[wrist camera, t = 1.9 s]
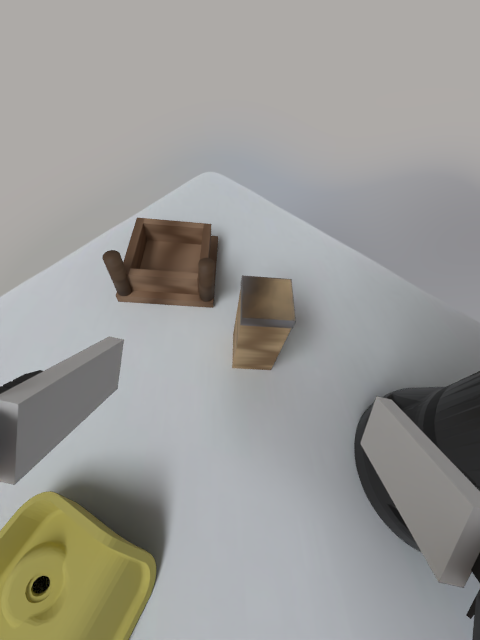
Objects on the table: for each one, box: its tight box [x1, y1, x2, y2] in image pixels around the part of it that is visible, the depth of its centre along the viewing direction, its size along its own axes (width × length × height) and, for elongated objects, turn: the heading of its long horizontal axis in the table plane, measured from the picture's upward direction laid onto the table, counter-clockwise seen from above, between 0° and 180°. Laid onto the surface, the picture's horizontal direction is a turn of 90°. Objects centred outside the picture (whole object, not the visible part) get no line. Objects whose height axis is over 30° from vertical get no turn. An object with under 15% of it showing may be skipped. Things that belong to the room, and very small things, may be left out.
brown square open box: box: [103, 218, 218, 308], centre depth 37 cm, size 12×12×7 cm
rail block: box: [232, 276, 296, 370], centre depth 30 cm, size 5×5×11 cm
